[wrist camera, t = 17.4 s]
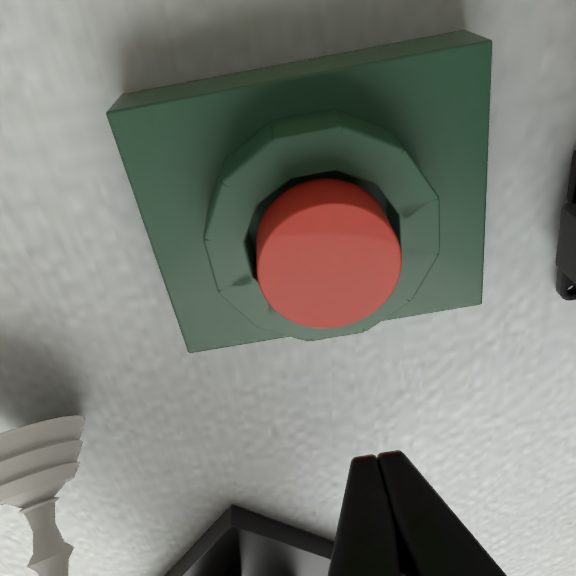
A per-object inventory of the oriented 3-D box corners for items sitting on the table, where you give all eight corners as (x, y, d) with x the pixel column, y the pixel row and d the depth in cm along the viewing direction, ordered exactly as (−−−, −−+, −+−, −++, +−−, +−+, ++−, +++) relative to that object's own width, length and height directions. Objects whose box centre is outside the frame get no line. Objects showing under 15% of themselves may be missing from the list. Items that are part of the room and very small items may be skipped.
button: (384, 166, 15) (398, 190, 13) (392, 284, 17) (405, 316, 16) (243, 191, 15) (242, 217, 14) (269, 305, 17) (271, 339, 16)
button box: (466, 29, 16) (521, 49, 13) (462, 274, 21) (502, 334, 18) (120, 94, 17) (87, 130, 14) (193, 319, 22) (183, 387, 18)
